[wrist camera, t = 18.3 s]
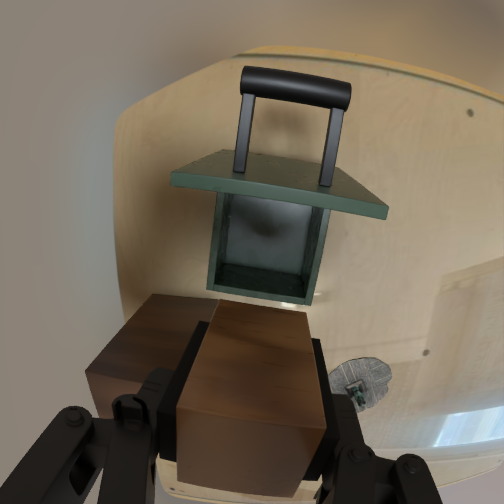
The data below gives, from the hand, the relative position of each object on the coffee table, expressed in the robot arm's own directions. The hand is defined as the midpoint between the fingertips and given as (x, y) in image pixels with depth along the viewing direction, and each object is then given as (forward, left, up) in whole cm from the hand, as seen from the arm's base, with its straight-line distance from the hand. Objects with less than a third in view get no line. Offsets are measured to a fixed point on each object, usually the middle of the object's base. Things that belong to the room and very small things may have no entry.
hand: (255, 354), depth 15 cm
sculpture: (+29, -1, -27) cm, 40 cm away
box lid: (-6, +5, -10) cm, 13 cm away
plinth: (+5, -18, -27) cm, 33 cm away
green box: (-2, +1, -27) cm, 27 cm away
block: (0, 0, -1) cm, 1 cm away
